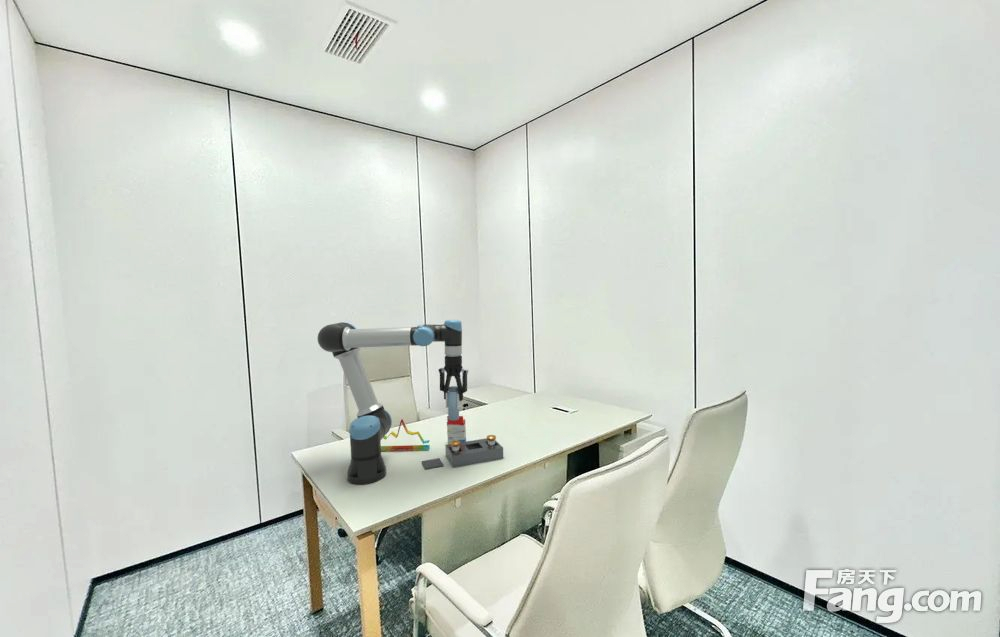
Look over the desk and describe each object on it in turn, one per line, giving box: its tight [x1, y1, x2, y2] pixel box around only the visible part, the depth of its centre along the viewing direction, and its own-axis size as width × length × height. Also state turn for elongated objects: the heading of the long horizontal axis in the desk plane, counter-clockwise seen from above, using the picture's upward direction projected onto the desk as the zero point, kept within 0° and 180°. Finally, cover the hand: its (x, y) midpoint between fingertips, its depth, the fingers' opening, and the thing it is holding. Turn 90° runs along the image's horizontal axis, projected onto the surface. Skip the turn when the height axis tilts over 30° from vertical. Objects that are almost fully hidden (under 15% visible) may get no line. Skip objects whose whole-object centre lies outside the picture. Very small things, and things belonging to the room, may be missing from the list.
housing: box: [444, 437, 504, 468], centre depth 177 cm, size 23×14×5 cm, turn 111°
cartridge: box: [447, 385, 460, 420], centre depth 173 cm, size 5×5×14 cm
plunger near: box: [451, 441, 460, 453], centre depth 174 cm, size 4×4×8 cm
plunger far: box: [486, 434, 497, 446], centre depth 180 cm, size 4×4×8 cm
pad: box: [421, 457, 444, 470], centre depth 170 cm, size 8×8×1 cm
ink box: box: [446, 415, 467, 445], centre depth 193 cm, size 8×5×15 cm, turn 84°
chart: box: [381, 418, 431, 453], centre depth 187 cm, size 30×3×15 cm, turn 90°
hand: (453, 407), depth 173 cm, fingers closed on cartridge, 5 cm apart
